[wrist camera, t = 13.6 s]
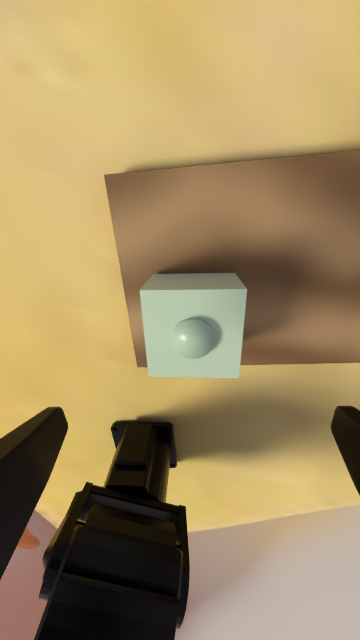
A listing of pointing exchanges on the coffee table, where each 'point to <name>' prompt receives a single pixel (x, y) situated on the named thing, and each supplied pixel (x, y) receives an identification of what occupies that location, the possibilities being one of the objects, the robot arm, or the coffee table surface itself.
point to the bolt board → (253, 247)
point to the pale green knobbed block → (193, 324)
